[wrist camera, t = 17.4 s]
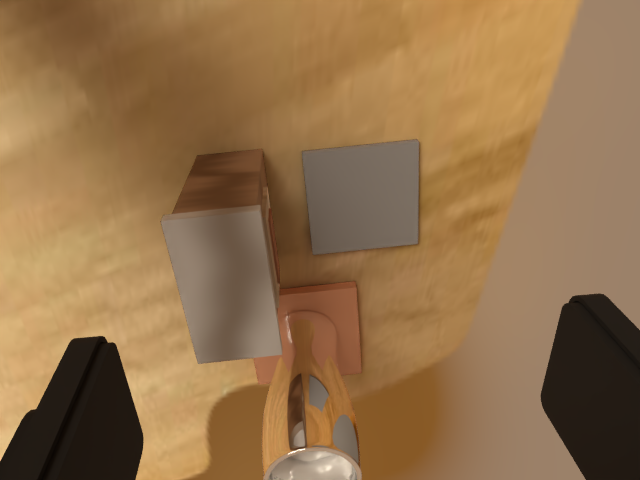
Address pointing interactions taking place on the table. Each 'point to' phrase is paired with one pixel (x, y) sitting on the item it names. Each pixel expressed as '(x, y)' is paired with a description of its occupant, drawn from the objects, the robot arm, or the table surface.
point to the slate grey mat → (362, 196)
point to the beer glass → (309, 407)
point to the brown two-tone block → (226, 258)
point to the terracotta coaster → (334, 305)
